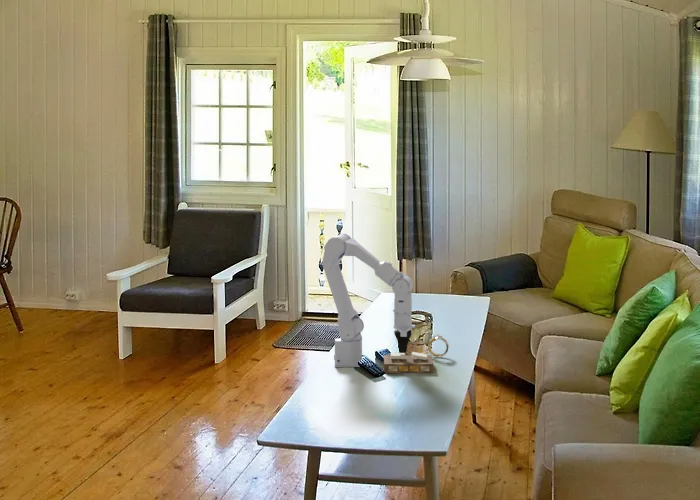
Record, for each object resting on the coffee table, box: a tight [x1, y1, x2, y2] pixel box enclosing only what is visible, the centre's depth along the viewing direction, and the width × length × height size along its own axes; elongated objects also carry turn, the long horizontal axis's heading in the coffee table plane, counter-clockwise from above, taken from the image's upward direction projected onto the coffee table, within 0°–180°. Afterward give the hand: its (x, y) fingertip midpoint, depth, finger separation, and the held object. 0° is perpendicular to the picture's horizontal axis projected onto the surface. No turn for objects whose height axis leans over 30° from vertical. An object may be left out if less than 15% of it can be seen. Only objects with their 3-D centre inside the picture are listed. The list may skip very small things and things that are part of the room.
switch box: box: [383, 354, 434, 374], centre depth 279 cm, size 16×10×4 cm, turn 89°
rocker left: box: [389, 352, 406, 359], centre depth 278 cm, size 5×4×1 cm
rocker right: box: [411, 351, 428, 360], centre depth 278 cm, size 5×4×1 cm
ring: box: [427, 334, 450, 358], centre depth 291 cm, size 7×3×8 cm, turn 74°
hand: (402, 352), depth 278 cm, fingers closed
